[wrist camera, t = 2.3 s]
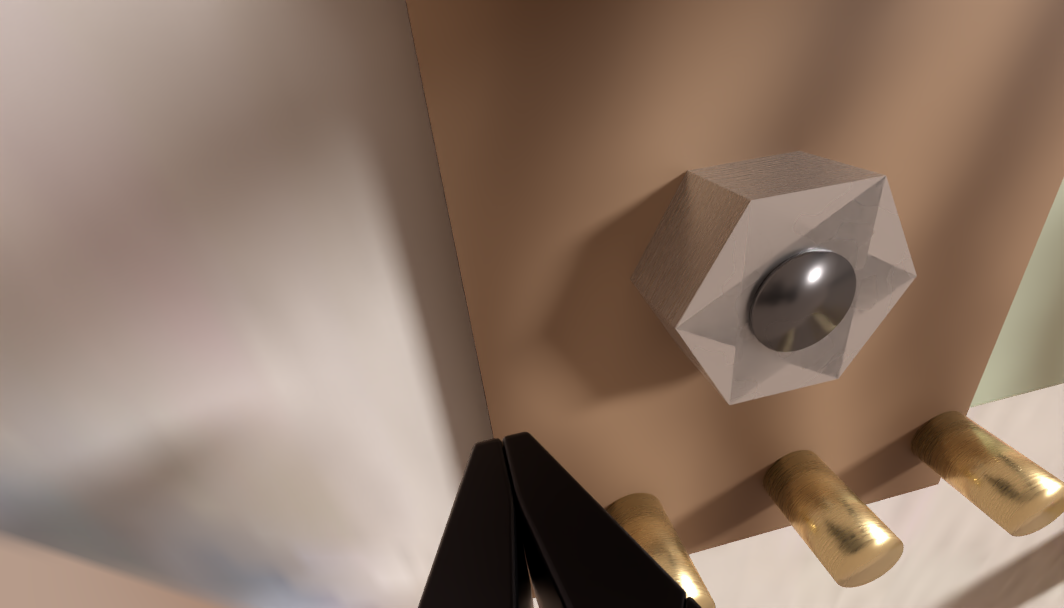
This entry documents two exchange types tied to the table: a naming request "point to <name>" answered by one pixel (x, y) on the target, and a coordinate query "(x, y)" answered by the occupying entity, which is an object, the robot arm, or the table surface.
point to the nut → (775, 270)
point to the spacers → (847, 523)
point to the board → (725, 137)
